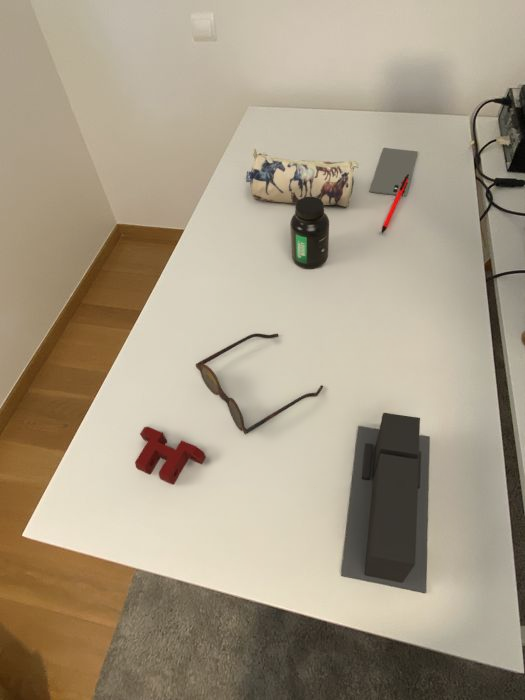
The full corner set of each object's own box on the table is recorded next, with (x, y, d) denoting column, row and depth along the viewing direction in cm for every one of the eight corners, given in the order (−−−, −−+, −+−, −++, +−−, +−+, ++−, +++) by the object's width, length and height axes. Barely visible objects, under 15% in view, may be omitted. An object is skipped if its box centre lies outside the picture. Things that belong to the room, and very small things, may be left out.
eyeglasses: (198, 375, 80) (192, 357, 76) (274, 331, 84) (272, 312, 80) (246, 443, 73) (243, 427, 69) (328, 391, 77) (329, 373, 73)
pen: (409, 177, 105) (410, 172, 104) (383, 235, 96) (384, 231, 95) (405, 176, 106) (406, 171, 105) (379, 234, 96) (379, 230, 95)
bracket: (202, 449, 69) (142, 424, 72) (182, 485, 67) (120, 458, 70) (205, 457, 72) (147, 433, 75) (186, 492, 69) (126, 466, 72)
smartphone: (418, 151, 111) (407, 194, 102) (417, 153, 111) (406, 196, 102) (383, 147, 112) (369, 189, 104) (383, 149, 113) (369, 192, 104)
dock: (429, 438, 71) (443, 404, 63) (425, 593, 59) (442, 575, 51) (357, 427, 73) (363, 393, 65) (340, 576, 61) (345, 555, 53)
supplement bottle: (303, 275, 92) (302, 223, 82) (285, 253, 95) (282, 201, 86) (335, 260, 93) (337, 208, 83) (315, 240, 97) (316, 187, 87)
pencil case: (247, 207, 104) (242, 166, 96) (257, 183, 109) (252, 141, 101) (352, 217, 100) (356, 174, 92) (358, 190, 105) (361, 148, 97)
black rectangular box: (408, 448, 69) (420, 417, 62) (407, 482, 67) (418, 454, 59) (375, 443, 70) (383, 412, 63) (372, 477, 67) (380, 448, 60)
